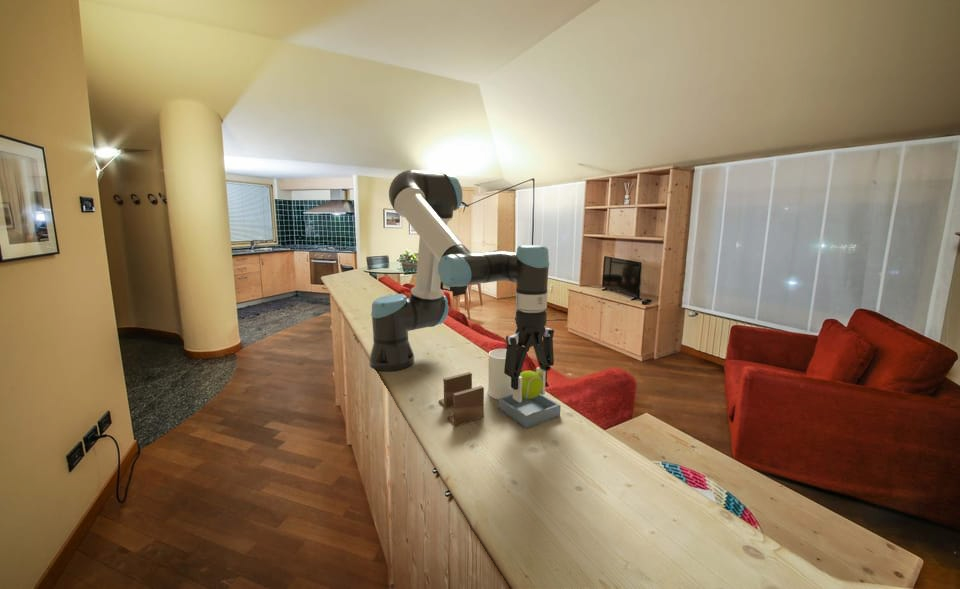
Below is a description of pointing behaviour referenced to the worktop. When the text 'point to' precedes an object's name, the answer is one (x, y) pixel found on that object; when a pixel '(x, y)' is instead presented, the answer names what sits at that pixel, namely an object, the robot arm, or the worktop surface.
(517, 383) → the robot arm
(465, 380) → the bookend
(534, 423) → the dish
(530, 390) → the tennis ball
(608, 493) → the worktop surface
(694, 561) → the worktop surface
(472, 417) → the bookend
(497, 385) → the mug
